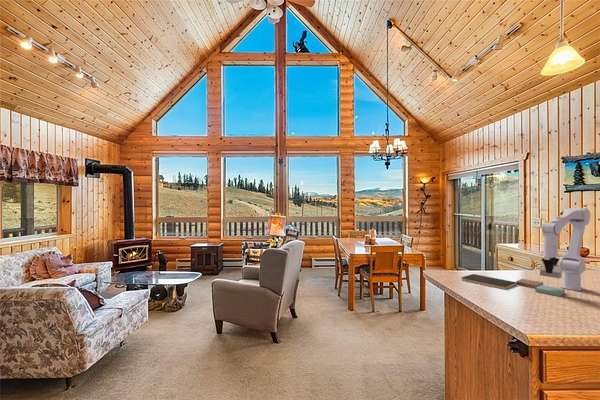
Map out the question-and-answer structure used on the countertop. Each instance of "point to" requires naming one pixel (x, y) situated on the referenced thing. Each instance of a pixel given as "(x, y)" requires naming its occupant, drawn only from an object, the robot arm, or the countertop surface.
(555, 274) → the block
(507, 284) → the hardcover book
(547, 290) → the stand
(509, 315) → the countertop surface
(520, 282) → the stand
